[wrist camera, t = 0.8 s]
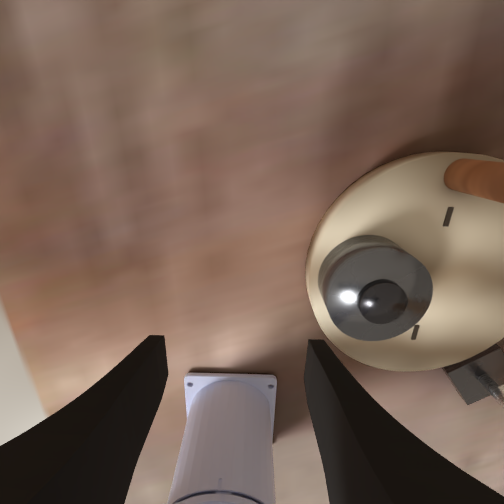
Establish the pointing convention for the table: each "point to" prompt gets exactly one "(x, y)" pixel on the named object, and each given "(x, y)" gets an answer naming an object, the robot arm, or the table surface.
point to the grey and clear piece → (479, 376)
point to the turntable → (426, 254)
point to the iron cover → (374, 288)
